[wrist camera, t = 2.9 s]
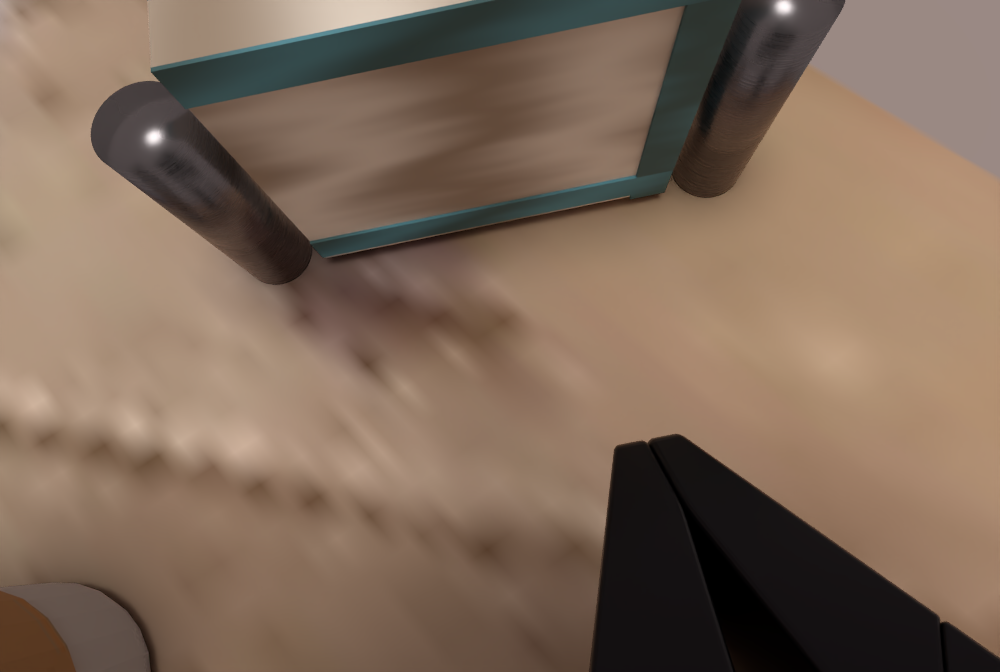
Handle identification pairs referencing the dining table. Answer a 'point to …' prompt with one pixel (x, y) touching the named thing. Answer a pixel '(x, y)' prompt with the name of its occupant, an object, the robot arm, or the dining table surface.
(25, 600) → the coffee cup
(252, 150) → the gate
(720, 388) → the dining table surface
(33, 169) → the dining table surface
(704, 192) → the gate posts
